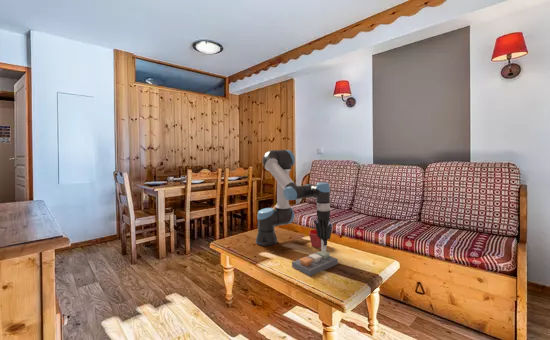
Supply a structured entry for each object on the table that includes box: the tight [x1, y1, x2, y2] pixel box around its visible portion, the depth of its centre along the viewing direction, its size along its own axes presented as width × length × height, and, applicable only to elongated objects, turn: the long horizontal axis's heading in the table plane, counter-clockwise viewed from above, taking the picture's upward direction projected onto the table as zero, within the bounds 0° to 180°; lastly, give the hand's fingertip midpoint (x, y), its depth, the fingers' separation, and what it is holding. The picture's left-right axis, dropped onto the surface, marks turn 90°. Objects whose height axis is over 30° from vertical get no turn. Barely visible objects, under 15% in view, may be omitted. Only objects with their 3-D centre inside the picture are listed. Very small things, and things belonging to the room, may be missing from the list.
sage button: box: [316, 250, 331, 259], centre depth 151 cm, size 5×5×3 cm
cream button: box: [307, 253, 322, 263], centre depth 147 cm, size 5×5×3 cm
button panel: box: [291, 252, 339, 277], centre depth 147 cm, size 14×22×3 cm, turn 128°
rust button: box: [298, 256, 313, 266], centre depth 142 cm, size 5×5×3 cm
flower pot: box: [308, 229, 321, 249], centre depth 176 cm, size 11×11×10 cm
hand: (323, 250), depth 150 cm, fingers closed
